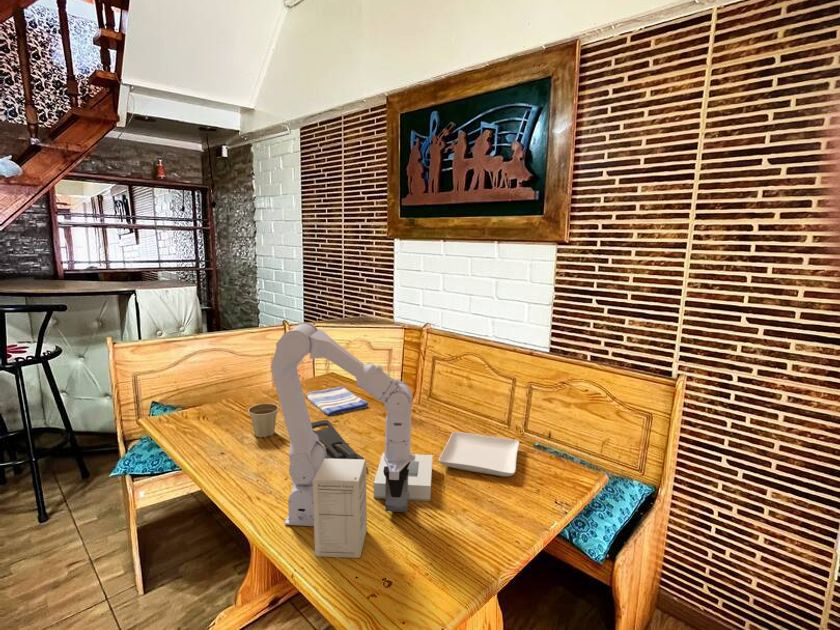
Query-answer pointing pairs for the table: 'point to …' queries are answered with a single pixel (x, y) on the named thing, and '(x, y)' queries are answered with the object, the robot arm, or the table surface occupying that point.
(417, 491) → the well block
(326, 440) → the zipper pull
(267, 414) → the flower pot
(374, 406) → the table surface
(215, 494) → the table surface
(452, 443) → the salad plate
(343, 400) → the dish towel
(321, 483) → the supplement box
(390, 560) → the table surface
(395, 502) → the bracket
